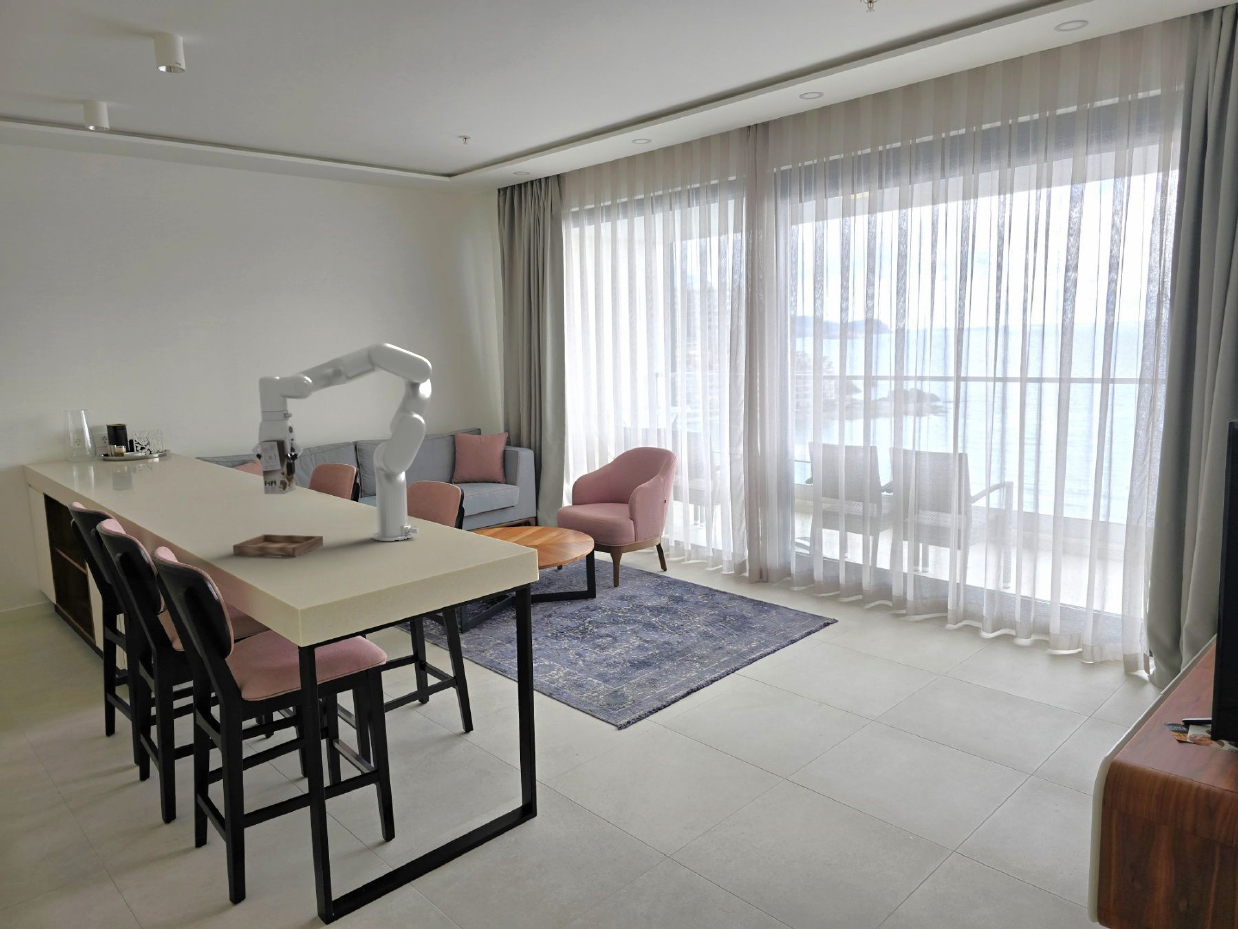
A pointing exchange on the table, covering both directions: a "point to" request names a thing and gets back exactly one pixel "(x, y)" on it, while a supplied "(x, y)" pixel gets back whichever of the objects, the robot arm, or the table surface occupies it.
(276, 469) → the coffee box
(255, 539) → the tray
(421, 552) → the table surface
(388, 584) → the table surface
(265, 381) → the robot arm
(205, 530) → the table surface
